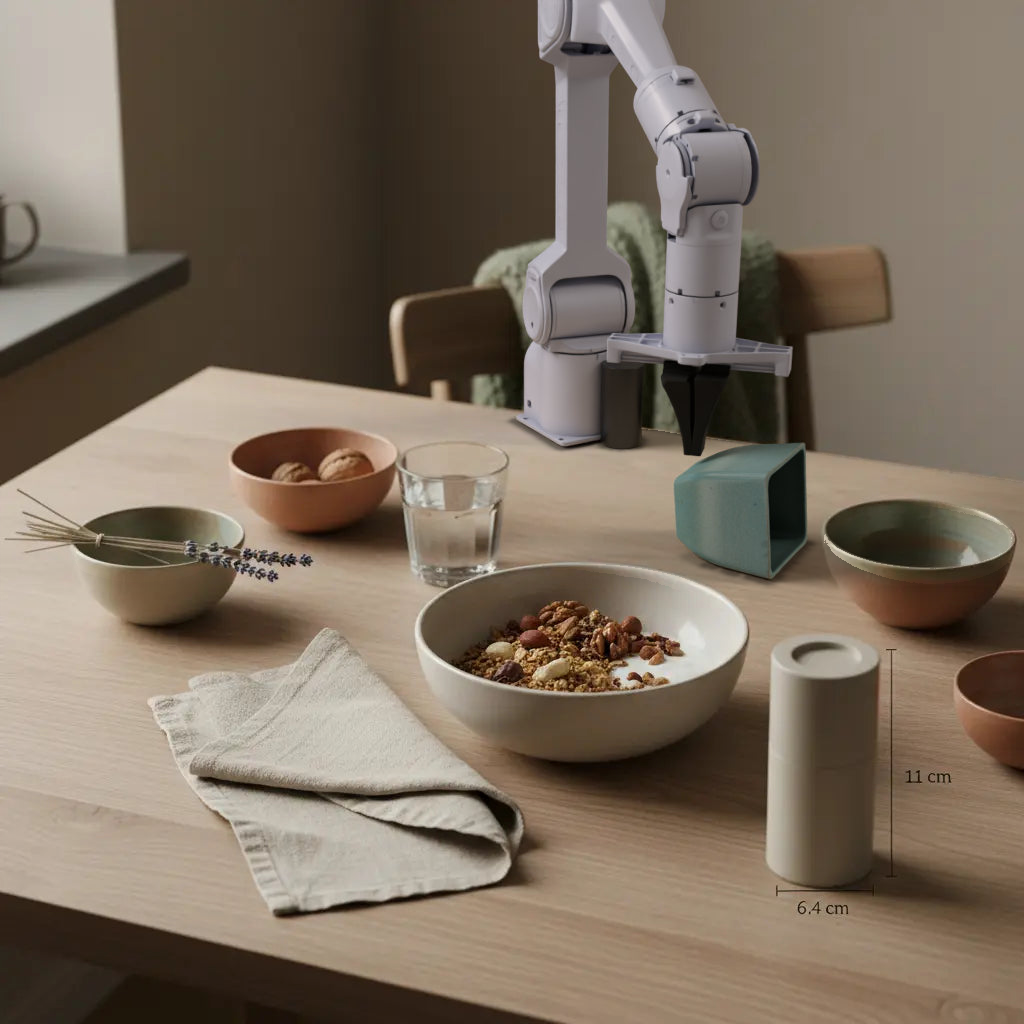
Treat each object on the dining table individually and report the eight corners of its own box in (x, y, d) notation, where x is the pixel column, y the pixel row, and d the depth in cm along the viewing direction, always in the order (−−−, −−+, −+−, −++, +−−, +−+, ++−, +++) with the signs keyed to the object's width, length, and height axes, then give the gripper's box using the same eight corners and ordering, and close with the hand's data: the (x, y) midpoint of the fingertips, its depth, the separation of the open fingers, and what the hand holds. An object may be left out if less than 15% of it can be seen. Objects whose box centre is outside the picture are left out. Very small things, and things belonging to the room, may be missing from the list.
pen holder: (592, 439, 148) (593, 360, 145) (626, 432, 150) (628, 354, 147) (614, 451, 145) (616, 371, 142) (649, 444, 147) (652, 365, 143)
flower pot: (704, 431, 126) (807, 440, 122) (708, 529, 129) (809, 542, 125) (660, 464, 119) (767, 475, 115) (665, 567, 122) (769, 581, 118)
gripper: (599, 294, 116) (596, 459, 122) (789, 308, 113) (777, 477, 118) (619, 273, 123) (615, 431, 128) (799, 285, 119) (787, 447, 124)
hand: (694, 451), depth 123 cm, fingers closed
